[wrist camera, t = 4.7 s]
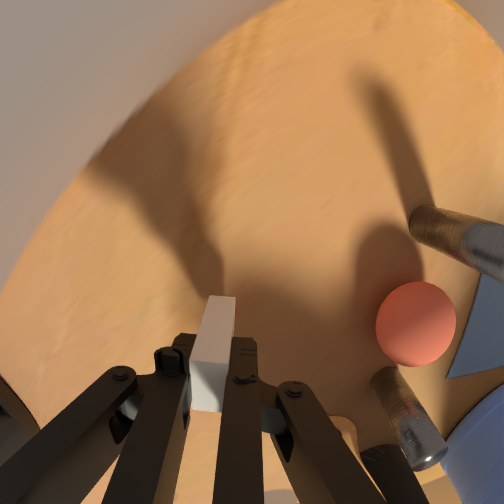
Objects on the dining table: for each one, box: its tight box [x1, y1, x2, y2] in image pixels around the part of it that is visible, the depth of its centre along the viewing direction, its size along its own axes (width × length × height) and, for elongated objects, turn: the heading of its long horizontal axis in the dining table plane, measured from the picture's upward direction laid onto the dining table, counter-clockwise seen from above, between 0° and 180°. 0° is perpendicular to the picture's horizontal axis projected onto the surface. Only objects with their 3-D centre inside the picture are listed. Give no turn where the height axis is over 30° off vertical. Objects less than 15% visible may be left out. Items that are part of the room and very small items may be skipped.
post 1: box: [371, 367, 448, 472], centre depth 17 cm, size 3×3×9 cm
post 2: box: [409, 205, 504, 285], centre depth 14 cm, size 3×3×9 cm
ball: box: [376, 282, 456, 367], centre depth 17 cm, size 6×6×6 cm
